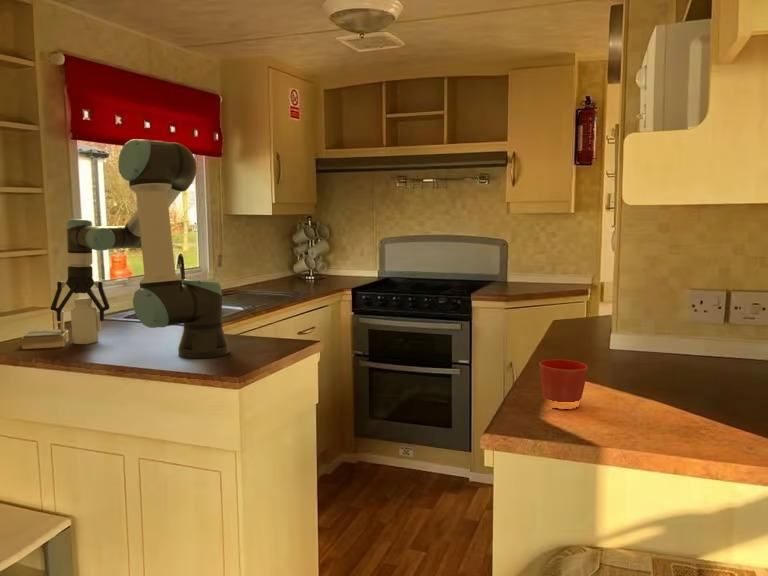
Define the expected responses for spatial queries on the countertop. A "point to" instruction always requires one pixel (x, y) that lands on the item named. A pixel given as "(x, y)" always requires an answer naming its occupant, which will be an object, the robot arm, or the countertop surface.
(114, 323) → the countertop surface
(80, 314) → the pill bottle
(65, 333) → the stand
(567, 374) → the flower pot
